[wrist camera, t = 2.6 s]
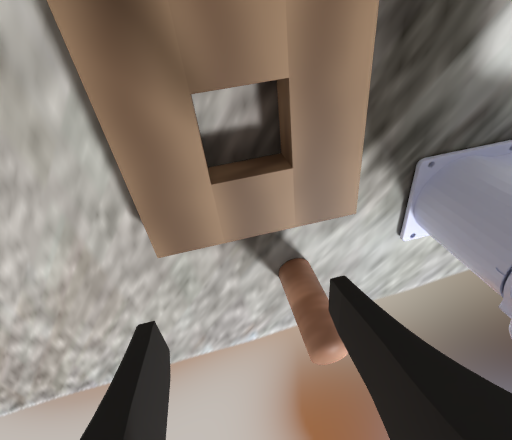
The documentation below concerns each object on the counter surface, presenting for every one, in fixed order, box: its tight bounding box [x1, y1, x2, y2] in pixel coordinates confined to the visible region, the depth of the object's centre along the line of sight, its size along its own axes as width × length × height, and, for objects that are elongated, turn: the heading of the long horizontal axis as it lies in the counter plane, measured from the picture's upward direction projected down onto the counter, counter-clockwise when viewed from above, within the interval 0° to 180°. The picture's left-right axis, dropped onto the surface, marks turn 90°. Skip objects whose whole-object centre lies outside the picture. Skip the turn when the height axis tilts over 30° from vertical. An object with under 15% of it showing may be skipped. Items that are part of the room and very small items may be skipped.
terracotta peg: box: [279, 258, 348, 365], centre depth 23 cm, size 3×3×8 cm
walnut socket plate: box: [47, 0, 379, 258], centre depth 17 cm, size 14×14×2 cm
